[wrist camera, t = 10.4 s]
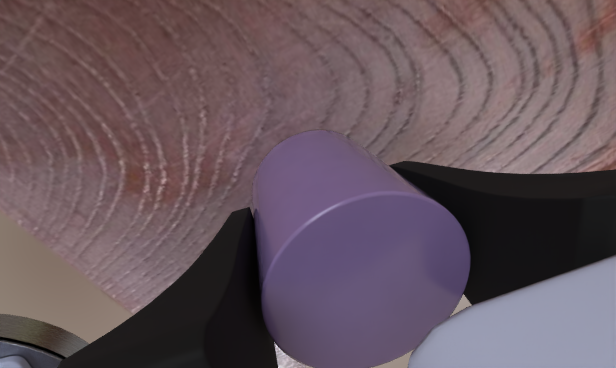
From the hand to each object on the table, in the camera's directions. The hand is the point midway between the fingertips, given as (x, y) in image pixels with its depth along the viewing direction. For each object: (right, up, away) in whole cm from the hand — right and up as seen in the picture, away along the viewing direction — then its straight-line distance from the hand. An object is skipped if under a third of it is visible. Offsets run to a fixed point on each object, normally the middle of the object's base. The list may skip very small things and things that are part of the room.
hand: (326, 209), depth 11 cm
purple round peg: (0, +1, +1) cm, 2 cm away
